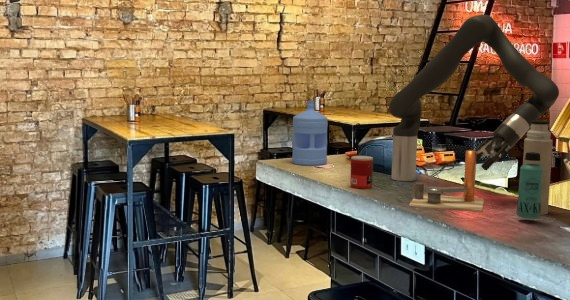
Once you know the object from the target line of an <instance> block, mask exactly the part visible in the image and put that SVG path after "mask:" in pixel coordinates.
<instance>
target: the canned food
mask: <svg viewBox="0 0 570 300" xmlns="http://www.w3.org/2000/svg"><path fill="white" fill-rule="evenodd" d="M373 172H374V157H373V156H367V155H353V156H351V157H350V182H349V183H350V187H351V189H352V188H353V189H355V190H356V189H358V190H369V189H371V188H373V174H374V173H373Z"/></svg>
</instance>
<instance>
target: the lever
mask: <svg viewBox="0 0 570 300" xmlns="http://www.w3.org/2000/svg"><path fill="white" fill-rule="evenodd" d="M476 155H477V151H474V150H472V149H471V150H469V149H468V150H465V157H464V158H465V159H464V160H465V161H464V176H463V178H464V179H463V186H451V187H448V186H447V187H445V186H444V187H443V186H442V187H441V186H426V187H425V186H424V193H427V194H428V193H431V194H441V195H442V194H445V193H463V196H462V197H463V200H465V201H474V198H475V194H476V193H475V192H476V191H475V190H476V170H477V163H476Z"/></svg>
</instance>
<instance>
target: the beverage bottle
mask: <svg viewBox="0 0 570 300" xmlns="http://www.w3.org/2000/svg"><path fill="white" fill-rule="evenodd" d="M525 160H529V161H540V153H535V152H527V153H526V155H525ZM543 170H544V169H543V168H542V167H541V166H540V165H539V164H524V165H523V164H521V166H520V171H519V182H518V190H517V202H516V216H517V217H519V218H522V219H528V220H537V219H540V217H541V215H540V209H541V204H542V202H541V197H542V186H543V185H542V181H543Z"/></svg>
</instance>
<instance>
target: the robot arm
mask: <svg viewBox="0 0 570 300" xmlns="http://www.w3.org/2000/svg"><path fill="white" fill-rule="evenodd" d="M481 43H484V44H485V45H487V46H488V47H490V48H491V49H492V50H493V51H494V53H495V54H496V55H497V57H498V58H499V59H500V62H501V64H502V66H503V67H504V69H505V71H507V73H508V74H509V75H510V77H512V78H513V79H514V80H515V82H517V83H518V85H520V86H521V87H523V88H528V89H529V90H530V91H532V92H533V94H532V95H531V96H530V97H529V98H528V99H527V100H526V101H525V102H524V103H522V104H520V106H518V107H517V108H516V110H515V111H514V112H513V113H512V114H511V115H509V116H508V117H507V118H506V119H504V121H503V122H502V123H501V124H500V125H499V126H498V127H497V128H496V129H495V130H494V131H493V132H492V136H493V138H492V139H491V140H489V139H488V138H486V139H484V140H483V141H482V142H481V143H480V144H479V145H478V146H477V147H476V148H475V149H474V150H473V151H477V155H476V164H478V162H479V161H480V160H481V159H482V158H485V157H488V158H486V160H485V161H483V163H482V164H481V165H480V167H481V168H482V169H483V170H484V171H488V170H489V169H490V167H492V166H493V164H495V163H497V162H498V163H501V162H502V161H503V160H504V159H505V158H506V157H507V155H508V154H510V152H511V151H512V150H513V149H512V148H513V147H514V146H515V145H516V144H517V143H518V141H520V139H522V138H523V136H524V135H525V134H527V132H528V131H529V130H530V129H531V121H538V119H539V118H540V117H541V116H542V115H544V114H545V113H546V112H548V110H549V109H550V108H551V107H552V106H553V105H554V104H555V103H556V101H557V99H558V98H559V95H560V89H559V87H558V86H557V84H556V83H555V81H553V80H552V79H551V78H549V77H548V76H546V75H545V74H544V73H542V72H540V71H538V70H537V68H536V67H535V66H533V64H532V63H531V62H529V61H528V60H527V58H525V56H523V54H522V53H520V51H519V50H518V49H517V48H516V47H515V46H514V44H513V43H512V42H511V41H510V39H509V38H508V36H507V35H506V34H505V33H504V31H503V30H502V29H501V27H500V26H499V25H498V23H497V22H496V21H495V19H494V18H493V17H492V16H490V15H488V14H478V15H477V14H476V15H473V16H470V17H468V18H467V19H466V20H465V21H464V22H463V23H462V25H461V26H460V27H459V28H458V30H457V31H456V32H455V34H454V35H453V37H452V38H451V39H450V40H449V41H448V42H447V44H445V45H444V46H443V47H442V48H441V49H440V50H439V51H438V52H437V53H436V54H435V55H433V57H432V58H431V59H430V60H429V61H428V62H427V64H425V66H423V68H422V69H421V70H420V71H419V72H418V73H417V74H416V75H415V77H414V78H413V79H411V81H409V83H408V84H407V85H406V86H404V87H403V88H402V89H401V90H400V91H399V92H397V93H396V94H395V95H394V96H393V97H392V99H391V100H390V102H389V105H388V107H389V108H388V110H389V113H390V115H391V116H392V117H394V118H397V119H400V122H399V124H397V126H395V127H393V130H392V152H391V153H392V154H391V155H392V156H391V157H392V158H391V162H392V163H391V180H393V181H398V182H414V181H416V180H417V179H416V177H417V174H416V173H417V156H418V155H417V151H418V132H419V130H420V127H421V120H422V119H421V116H422V103H421V98H422V97H424V96H425V95H427V94H429V93H430V92H433V91H434V90H436V89H438V88H439V87H441V86H442V85H444V83H446V82H447V81H448V79H450V78H451V77H452V76H453V74H454V73H455V72H456V70H458V67H459V65H460V63H461V61H462V59H463V58H464V56H465V55H466V54H467V53H469V52H470V51H471V50H472V49H473V48H474V47H476V46H478V44H481Z"/></svg>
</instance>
